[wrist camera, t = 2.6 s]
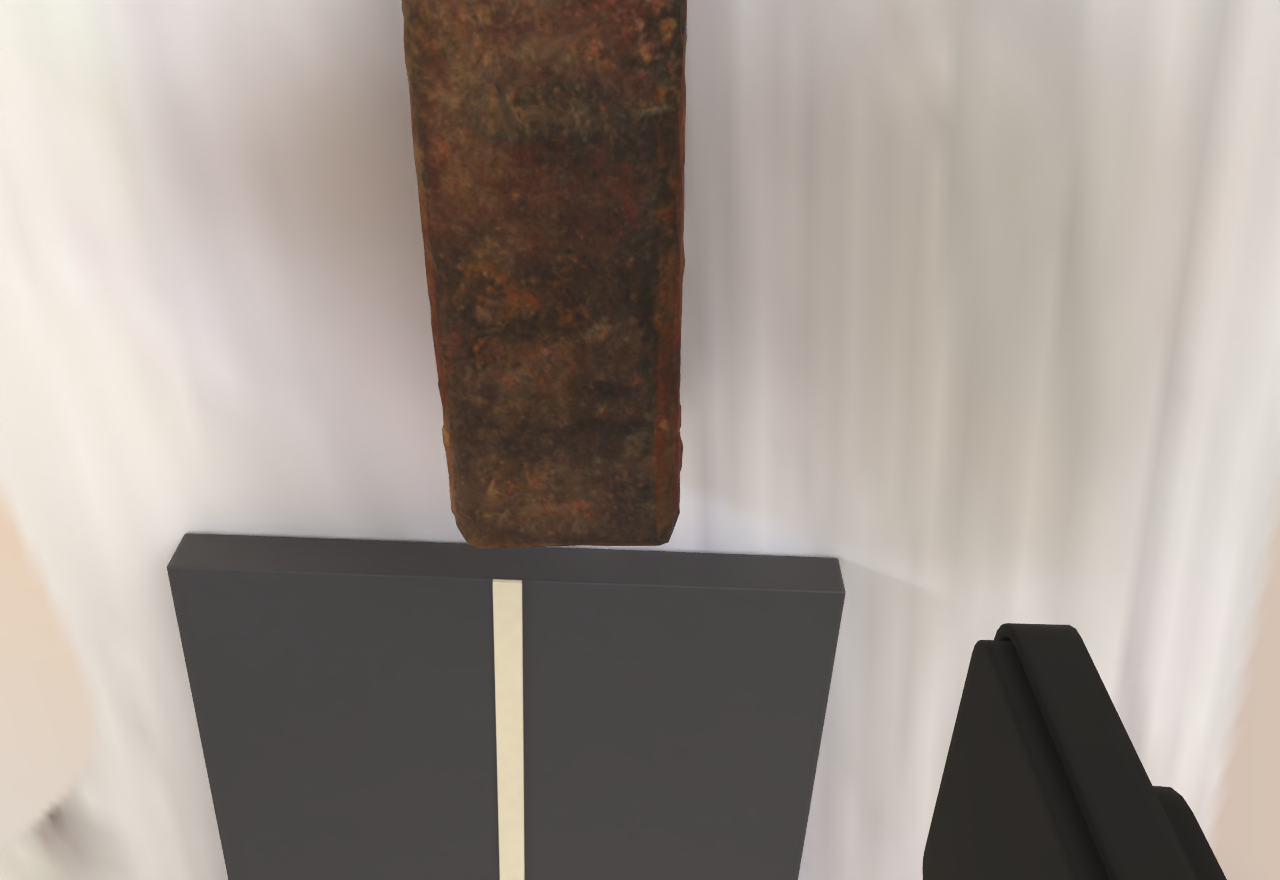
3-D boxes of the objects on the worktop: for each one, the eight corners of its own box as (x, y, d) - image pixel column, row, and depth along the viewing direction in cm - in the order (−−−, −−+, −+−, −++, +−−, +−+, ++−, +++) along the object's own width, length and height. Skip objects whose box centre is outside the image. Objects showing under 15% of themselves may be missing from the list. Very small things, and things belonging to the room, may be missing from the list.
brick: (678, 418, 25) (685, 558, 21) (481, 419, 25) (448, 559, 21) (687, -172, 19) (698, -138, 15) (432, -171, 19) (376, -138, 15)
